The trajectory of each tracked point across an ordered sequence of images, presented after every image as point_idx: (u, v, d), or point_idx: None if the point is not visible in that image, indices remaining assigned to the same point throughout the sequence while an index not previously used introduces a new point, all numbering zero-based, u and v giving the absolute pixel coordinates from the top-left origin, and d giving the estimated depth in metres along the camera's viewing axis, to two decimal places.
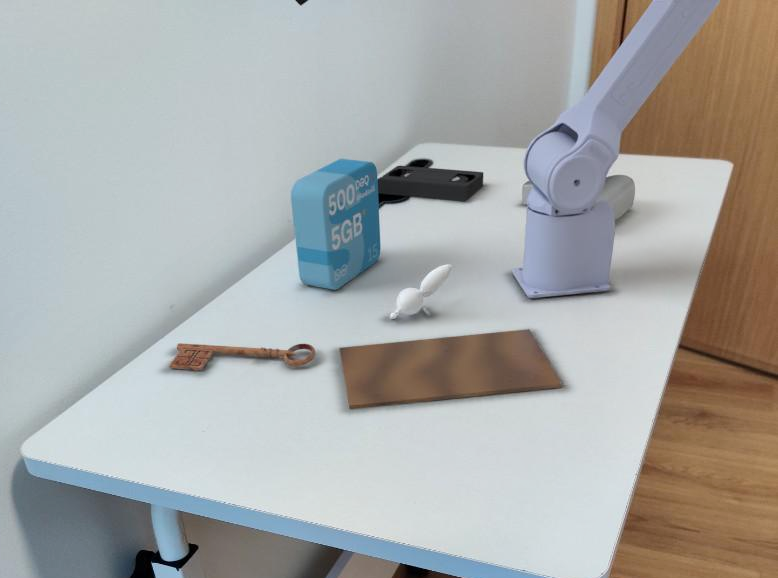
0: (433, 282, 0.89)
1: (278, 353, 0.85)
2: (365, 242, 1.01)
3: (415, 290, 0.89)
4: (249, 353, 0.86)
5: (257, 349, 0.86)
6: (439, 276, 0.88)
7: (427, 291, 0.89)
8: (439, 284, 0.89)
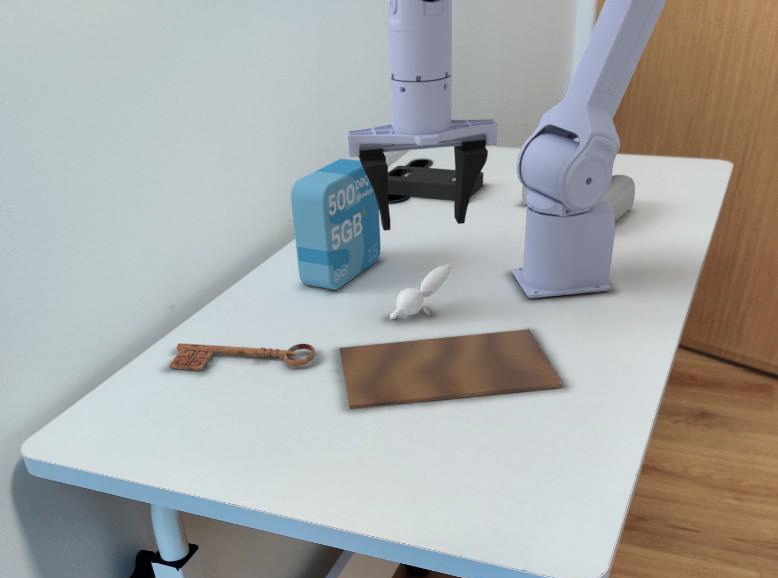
0: (433, 282, 0.89)
1: (278, 353, 0.85)
2: (365, 242, 1.01)
3: (415, 290, 0.89)
4: (249, 353, 0.86)
5: (257, 349, 0.86)
6: (439, 276, 0.88)
7: (427, 291, 0.89)
8: (439, 284, 0.89)
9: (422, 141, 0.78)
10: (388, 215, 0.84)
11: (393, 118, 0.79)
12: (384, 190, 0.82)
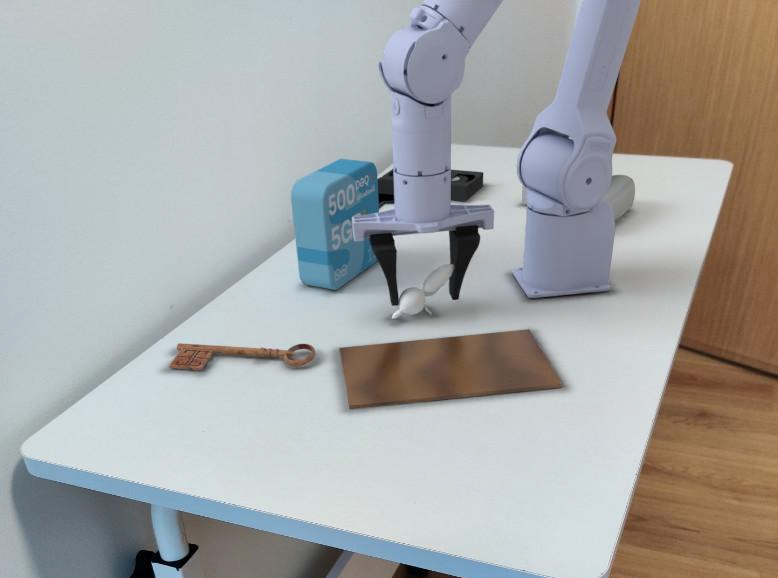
0: (436, 282, 0.89)
1: (278, 353, 0.85)
2: (365, 242, 1.01)
3: (418, 290, 0.89)
4: (249, 353, 0.86)
5: (257, 349, 0.86)
6: (442, 276, 0.89)
7: (430, 291, 0.89)
8: (442, 284, 0.89)
9: (423, 229, 0.83)
10: (396, 292, 0.89)
11: (396, 207, 0.84)
12: (393, 271, 0.87)
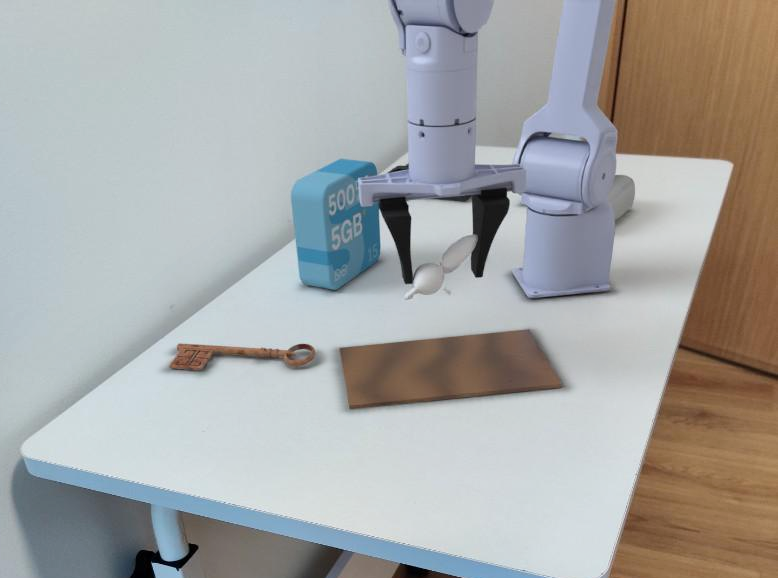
0: (456, 255, 0.76)
1: (278, 353, 0.85)
2: (365, 242, 1.01)
3: (435, 265, 0.76)
4: (249, 353, 0.86)
5: (257, 349, 0.86)
6: (463, 248, 0.75)
7: (449, 266, 0.76)
8: (463, 258, 0.76)
9: (443, 191, 0.70)
10: (410, 268, 0.76)
11: (410, 165, 0.71)
12: (406, 242, 0.74)
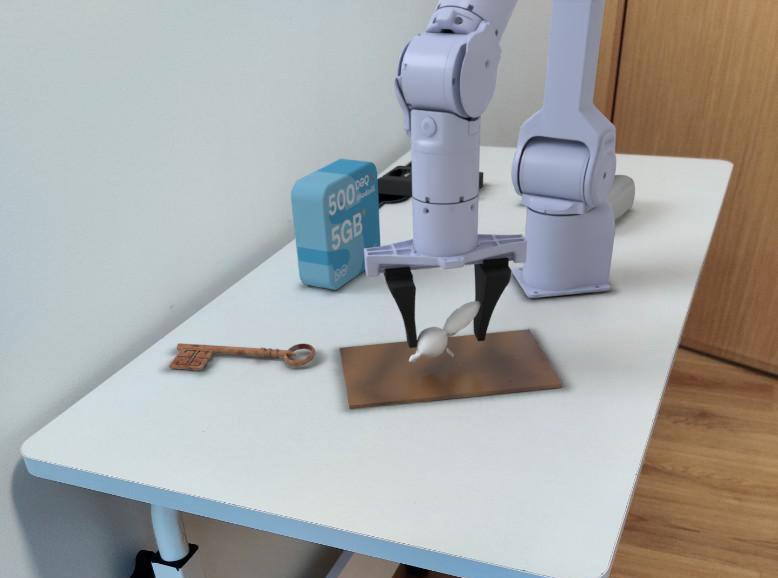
0: (459, 321, 0.78)
1: (278, 353, 0.85)
2: (365, 242, 1.01)
3: (439, 330, 0.79)
4: (249, 353, 0.86)
5: (257, 349, 0.86)
6: (466, 315, 0.78)
7: (452, 331, 0.78)
8: (466, 323, 0.78)
9: (447, 265, 0.72)
10: (414, 333, 0.78)
11: (415, 238, 0.73)
12: (411, 310, 0.76)
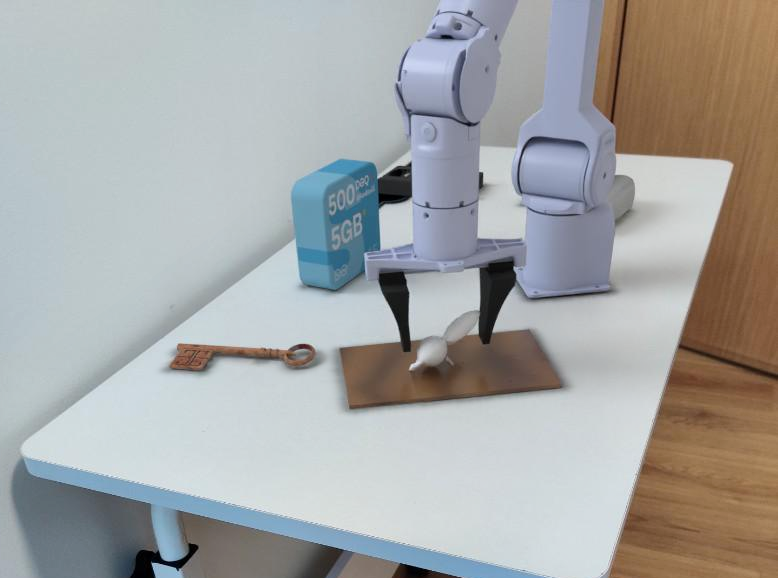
0: (459, 330, 0.78)
1: (278, 353, 0.85)
2: (365, 242, 1.01)
3: (438, 339, 0.79)
4: (249, 353, 0.86)
5: (257, 349, 0.86)
6: (466, 324, 0.78)
7: (452, 340, 0.79)
8: (466, 332, 0.79)
9: (447, 269, 0.72)
10: (408, 338, 0.79)
11: (415, 242, 0.74)
12: (405, 314, 0.77)
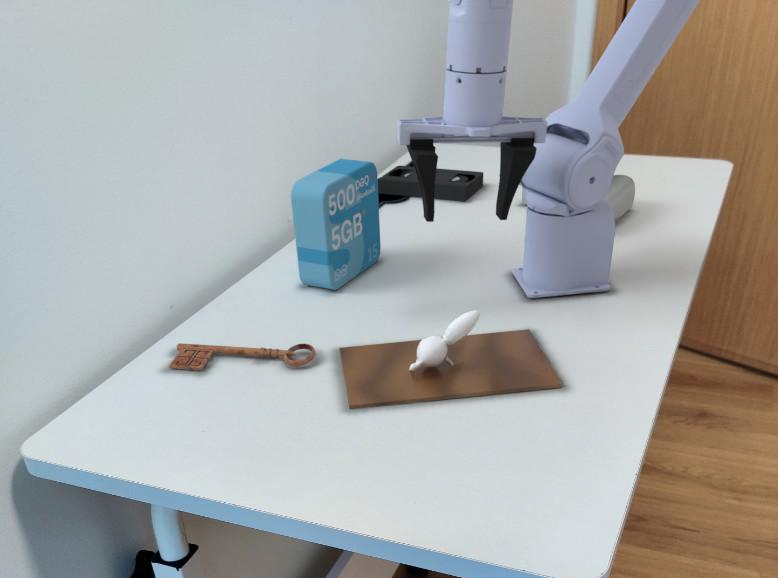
0: (459, 330, 0.78)
1: (278, 353, 0.85)
2: (365, 242, 1.01)
3: (438, 339, 0.79)
4: (249, 353, 0.86)
5: (257, 349, 0.86)
6: (466, 324, 0.78)
7: (452, 340, 0.79)
8: (466, 332, 0.79)
9: (475, 133, 0.78)
10: (433, 206, 0.84)
11: (446, 109, 0.80)
12: (431, 180, 0.82)
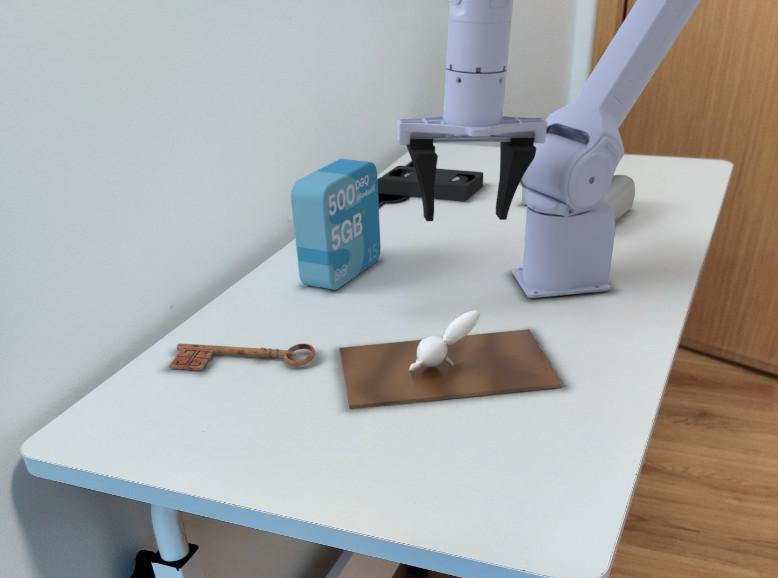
0: (459, 330, 0.78)
1: (278, 353, 0.85)
2: (365, 242, 1.01)
3: (438, 339, 0.79)
4: (249, 353, 0.86)
5: (257, 349, 0.86)
6: (466, 324, 0.78)
7: (452, 340, 0.79)
8: (466, 332, 0.79)
9: (475, 132, 0.78)
10: (432, 206, 0.84)
11: (446, 109, 0.80)
12: (431, 180, 0.83)
